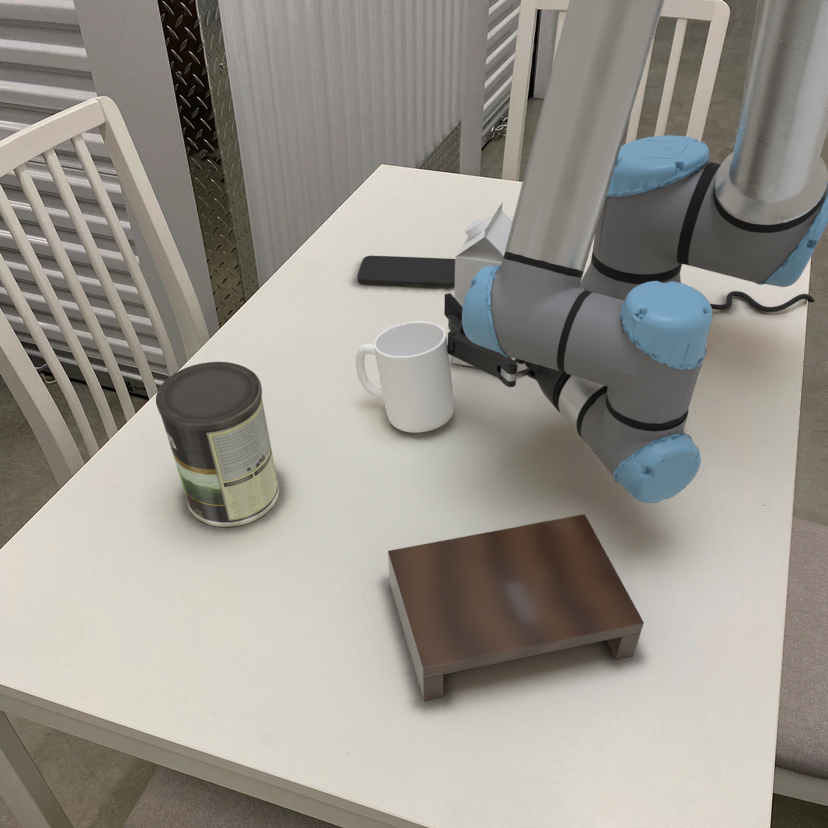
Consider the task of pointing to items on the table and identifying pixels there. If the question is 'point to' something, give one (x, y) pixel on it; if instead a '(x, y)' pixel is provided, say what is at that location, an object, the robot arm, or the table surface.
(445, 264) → the phone
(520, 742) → the table surface
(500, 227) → the milk carton
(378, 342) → the cup
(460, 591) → the shelf
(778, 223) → the robot arm
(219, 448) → the coffee can
